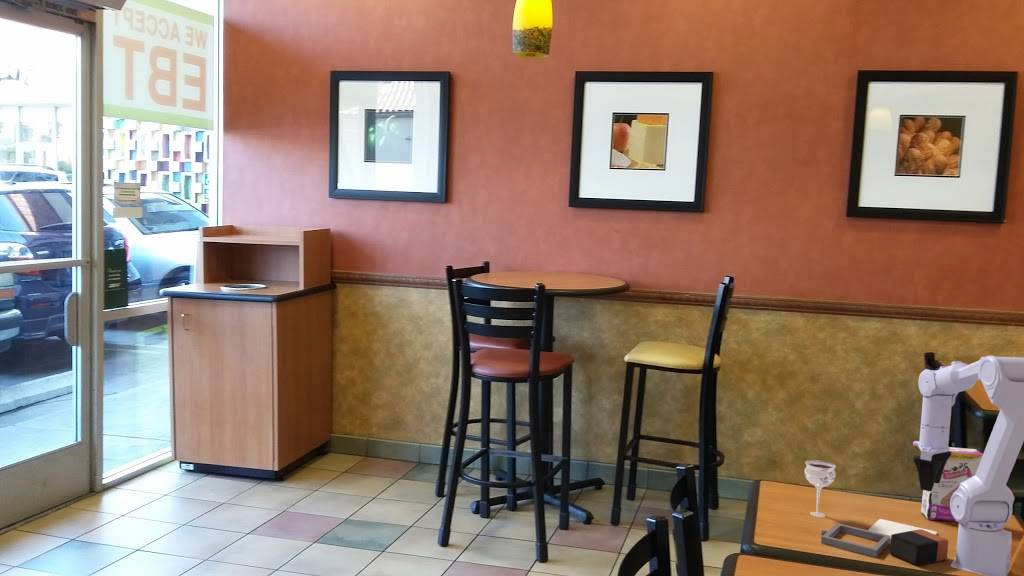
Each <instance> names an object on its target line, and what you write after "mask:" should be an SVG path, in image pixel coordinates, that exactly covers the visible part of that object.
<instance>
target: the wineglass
mask: <svg viewBox="0 0 1024 576" xmlns="http://www.w3.org/2000/svg"><path fill="white" fill-rule="evenodd" d="M804 462H805V465H806V466H805V468H804V473H803V474H804V476H805V479H806V480H807V481H808V482H809V483H810V484H811V485H813V486H814V488H815V489H816V506H815V507H816V510H815V511H810V512H809V513H810V514H811V515H810V514H809V515H810V516H812V515H813V517H815V516H816V517H817V518H825V517H826V514H824V513H822V512H819V505H820V496H821V491H822V490H821V489H823V488H825V487H828V486H830V485H831V484H832V483H833V482H834V481H835V479H836V471H835V469H836V467H837V466H836V464H834V463H832V462H830V461H825V460H824V461H823V460H817V459H814V460H813V459H812V460H811V459H810V460H806V461H804ZM816 517H815V518H816Z"/></svg>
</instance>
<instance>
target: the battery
mask: <svg viewBox="0 0 1024 576" xmlns="http://www.w3.org/2000/svg"><path fill="white" fill-rule="evenodd" d="M889 544H890V545H889V554H890V555H891V556H893V557H896V558H898V559H900V560H903V561H904V562H907V563H909V564H912V565H914V566H922V565H927V564H932V563H935V562H937V563H938V562H940V561H941V562H942V561H946V560H947V559H948V551H949V540H948V539H947V538H945V537H942V536H940V535H937V534H936V535H935V534H932V533H930V532H927V531H925V530H922V529H918V530H913V531H908V532H902V533H897V534H892V535H891V540H890V543H889Z"/></svg>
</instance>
